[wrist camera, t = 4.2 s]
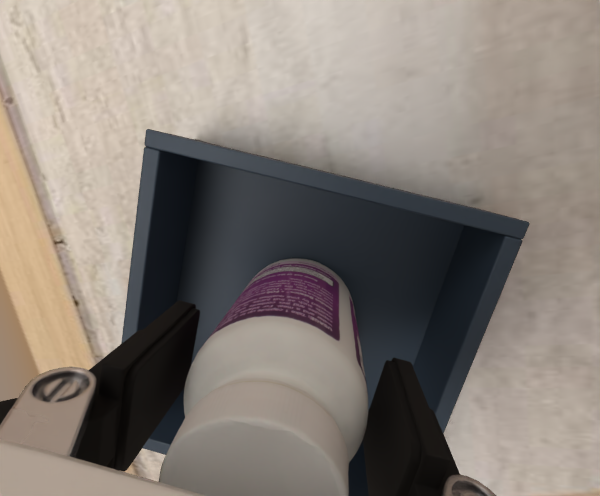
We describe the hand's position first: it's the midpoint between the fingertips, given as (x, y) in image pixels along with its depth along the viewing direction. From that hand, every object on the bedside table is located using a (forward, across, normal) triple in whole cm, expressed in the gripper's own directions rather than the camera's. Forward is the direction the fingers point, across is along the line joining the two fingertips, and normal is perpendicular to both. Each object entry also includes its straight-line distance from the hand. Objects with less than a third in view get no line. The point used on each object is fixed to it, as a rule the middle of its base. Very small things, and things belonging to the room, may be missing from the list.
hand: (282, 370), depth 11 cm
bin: (+6, 0, 0) cm, 6 cm away
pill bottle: (+5, 0, 0) cm, 5 cm away
